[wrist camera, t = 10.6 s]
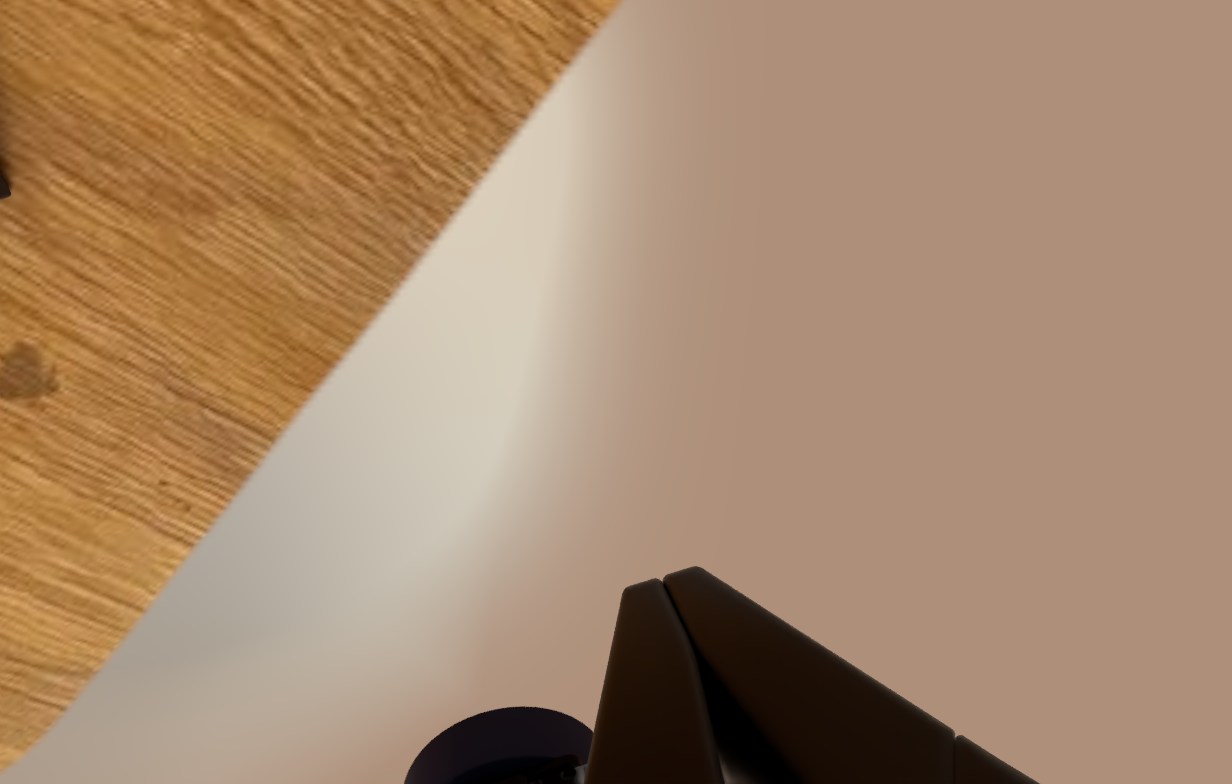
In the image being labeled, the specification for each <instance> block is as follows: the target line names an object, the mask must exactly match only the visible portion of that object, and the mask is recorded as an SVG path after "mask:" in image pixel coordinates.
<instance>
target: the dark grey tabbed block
mask: <svg viewBox="0 0 1232 784" xmlns="http://www.w3.org/2000/svg"><path fill="white" fill-rule="evenodd" d="M10 195H11V192H10V190H9V188H8V187H7V185H6V183H5V181H4V179H3V177H2V175H1V174H0V199H3V198H6V197H9V196H10Z"/></svg>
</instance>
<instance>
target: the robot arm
mask: <svg viewBox="0 0 1232 784" xmlns="http://www.w3.org/2000/svg"><path fill="white" fill-rule="evenodd" d="M571 768H572V769H571ZM567 769H570V770H567ZM725 783H726V784H1039V783H1038V782H1036V781H1034V780H1033V779H1031V778H1029V777H1028V776H1026V775H1025V774H1023V773H1021V772H1020V771H1018V770H1016V769H1015V768H1013V767H1011V766H1010V765H1008V764H1007V763H1005V762H1003V761H1002V760H1000V759H998V758H997V757H995V756H994V755H992V754H990V753H989V752H987V751H986V750H984V749H982V748H981V747H980V746H978V745H977V744H975V743H973V742H972V741H970V740H969V739H967V738H966V737H964V736H962V735H959V736H957V737H956V738H955V733H954V731H953V730H952V729H951V728H950V727H948V726H946V725H945V724H943V723H942V722H940V721H939V720H937V719H936V718H934V717H932V716H931V715H929V714H928V713H926V712H924V711H923V710H922V709H920V708H919V707H917V706H915V705H914V704H912V703H911V702H909V701H908V700H906V699H905V698H903V697H901V696H900V695H898V694H897V693H895V692H894V691H892V690H891V689H889V688H887V687H886V686H884V685H883V684H881V683H879V682H878V681H877V680H875V679H874V678H872V677H870V676H869V675H867V674H866V673H864V672H863V671H861V670H860V669H858V668H856V667H855V666H853V665H852V664H850V663H849V662H847V661H846V660H844V659H842V658H841V657H839V656H838V655H836V654H835V653H833V652H832V651H830V650H828V649H827V648H825V647H824V646H822V645H821V644H819V643H817V642H816V641H814V640H813V639H811V638H810V637H808V636H807V635H805V634H804V633H802V632H800V631H799V630H797V629H796V628H794V627H793V626H791V625H789V624H788V623H786V622H785V621H783V620H782V619H780V618H779V617H777V616H776V615H774V614H772V613H771V612H769V611H768V610H766V609H765V608H763V607H761V606H760V605H758V604H757V603H755V602H754V601H752V600H751V599H749V598H748V597H746V596H744V595H743V594H741V593H740V592H738V591H737V590H735V589H733V588H732V587H731V586H729V585H727V584H726V583H724V582H723V581H721V580H720V579H718V578H717V577H715V576H713V575H712V574H710V573H709V572H707V571H706V570H704V569H703V568H700V567H697V566H694V567H690V568H687V569H683V570H681V571H677V572H674V573H671V574H668V575H666V576H665V577H664V578H663V582H662V581H660V580H659V579H656V578H655V579H651V580H648V581H644V582H641V583H638V584H635V585H631V586H629V587H627V588H625V590H624V591H623V594H622V598H621V603H620V609H619V613H618V617H617V622H616V627H615V632H614V637H613V642H612V646H611V651H610V656H609V661H608V666H607V671H606V676H605V680H604V685H603V690H602V695H601V700H600V704H599V709H598V714H597V719H596V724H595V729H594V733H593V738H592V743H591V748H590V753H589V758H588V762H587V767H586V772H585V769H584V766H583V763H582V760H581V759H580V757H579V756H577V755H574V754H568V755H563V756H560V757H557V758H554V759H551V760H548V761H545V762H542V763H539V764H536V765H533V766H529V767H526V768H523V769H520V770H517V771H514V772H511V773H508V774H505V775H502V776H499V777H496V778H493V779H490V780H487V781H483V782H480V783H477V784H725Z"/></svg>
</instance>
